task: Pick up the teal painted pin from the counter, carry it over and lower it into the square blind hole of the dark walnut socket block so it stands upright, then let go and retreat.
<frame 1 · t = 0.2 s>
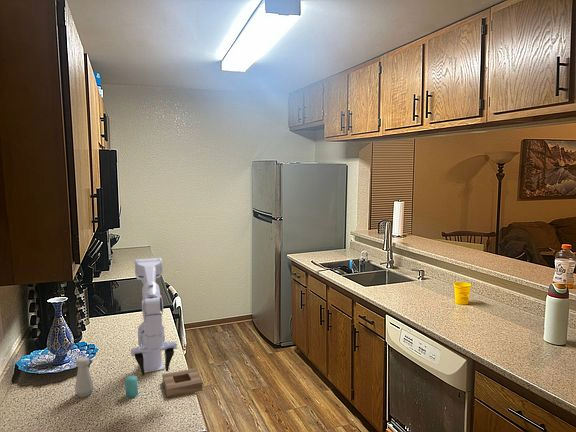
hand: (155, 372, 148), 10 cm above the worktop, fingers open, 7 cm apart
socket block: (182, 386, 158), on the worktop
teal pin: (131, 394, 153), on the worktop
salt shaker: (84, 395, 153), on the worktop
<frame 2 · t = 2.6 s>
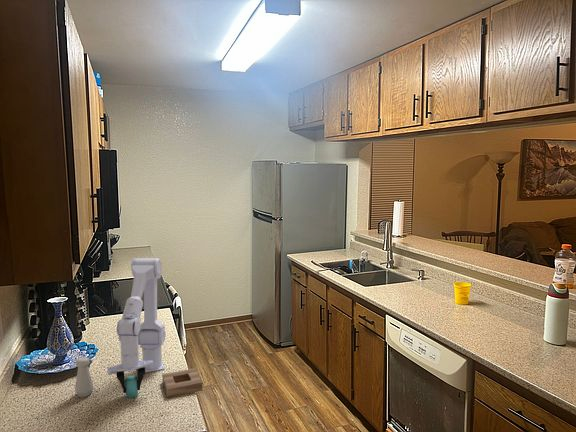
hand: (131, 390, 152), 2 cm above the worktop, fingers closed on teal pin, 4 cm apart
teal pin: (131, 394, 153), on the worktop, touching gripper
everything else where it was.
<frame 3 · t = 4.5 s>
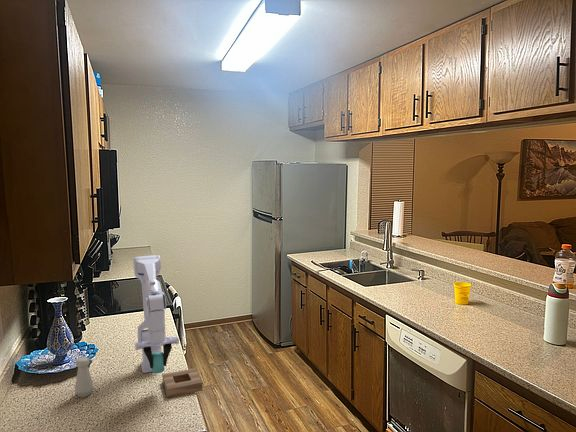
hand: (158, 366, 155), 9 cm above the worktop, fingers closed on teal pin, 4 cm apart
teal pin: (158, 370, 155), point 7 cm above the worktop, touching gripper
everything else where it was.
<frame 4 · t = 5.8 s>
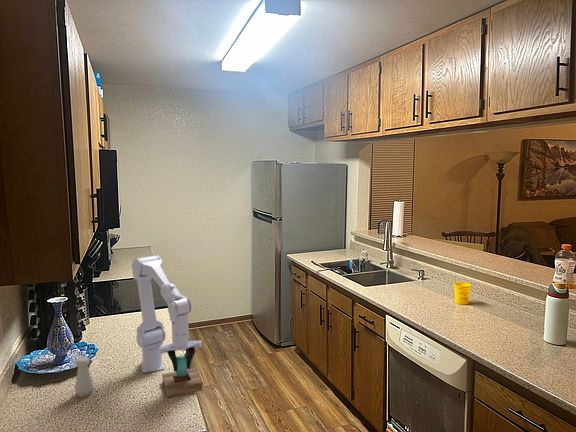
hand: (181, 369, 158), 6 cm above the worktop, fingers closed on teal pin, 4 cm apart
teal pin: (181, 373, 158), point 5 cm above the worktop, touching gripper
everything else where it was.
when the fingers open (4 cm above the worktop, at t = 6.7 s): teal pin drops 2 cm, resting on socket block.
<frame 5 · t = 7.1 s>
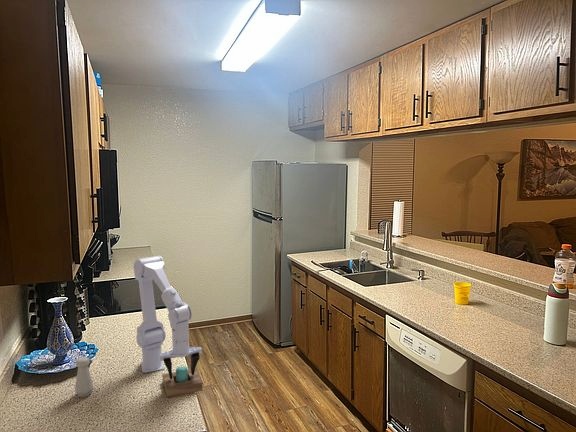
hand: (181, 375, 158), 4 cm above the worktop, fingers open, 7 cm apart
teal pin: (182, 384, 158), point 1 cm above the worktop, touching socket block
everything else where it was.
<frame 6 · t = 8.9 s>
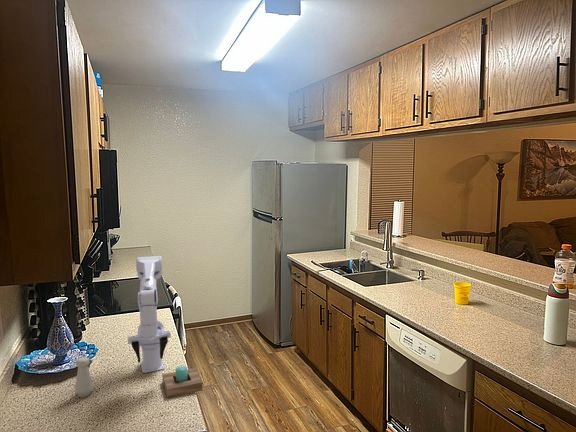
hand: (150, 359, 159), 9 cm above the worktop, fingers open, 7 cm apart
nothing on the worktop moved.
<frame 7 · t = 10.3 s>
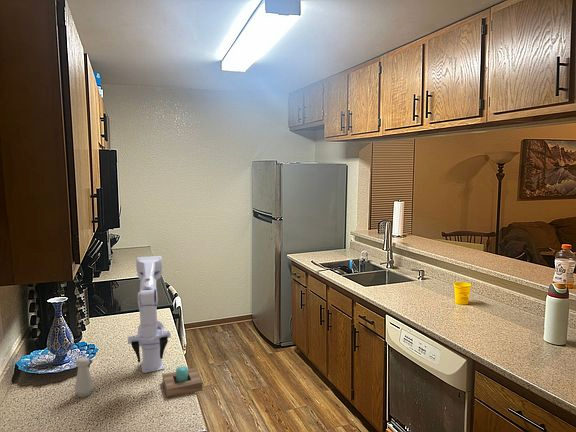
hand: (150, 359, 159), 9 cm above the worktop, fingers open, 7 cm apart
nothing on the worktop moved.
at the end: teal pin 0.1 cm off-centre on the socket block, point 0.6 cm above the socket block's base; teal pin tilted 2°; the gripper is holding nothing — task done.
